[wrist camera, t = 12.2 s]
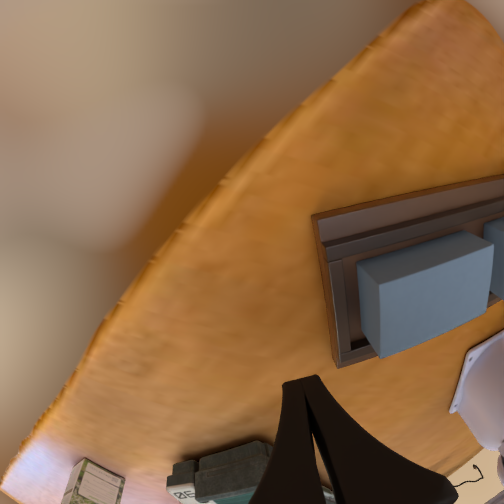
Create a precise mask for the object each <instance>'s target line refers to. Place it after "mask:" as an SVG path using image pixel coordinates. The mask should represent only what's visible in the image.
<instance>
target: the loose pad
mask: <svg viewBox="0 0 504 504" xmlns="http://www.w3.org/2000/svg"><path fill="white" fill-rule="evenodd" d="M493 254H494V244H493V243H491V242H489V241H486V240H484V239H482V238H480V237H478V236H476V235H474V234H471V233H469V232H467V231H465V230H462V231H459V232H456V233H453V234H449V235H446V236H443V237H440V238H436V239H433V240H430V241H427V242H423V243H420V244H417V245H413V246H410V247H406V248H403V249H400V250H396V251H393V252H389V253H386V254H382V255H379V256H375V257H372V258H368V259H365V260H361V261H357V262H356V267H357V277H358V288H359V300H360V315H361V330H362V332H363V333H364V335H365V336H366V338H367V339H368V341H369V342H370V344H371V345H372V347H373V349H374V350H375V352H376V353H377V355H378V356H379V358H380V359H382V358H385V357H388V356H390V355H393V354H396V353H398V352H401V351H403V350H406V349H408V348H411V347H413V346H416V345H418V344H421V343H423V342H425V341H428V340H430V339H432V338H435V337H437V336H439V335H441V334H443V333H446V332H448V331H450V330H452V329H454V328H456V327H458V326H460V325H462V324H464V323H466V322H468V321H470V320H472V319H474V318H476V317H478V316H480V315H482V314H484V313H485V312H486V308H487V302H488V296H489V290H490V282H491V274H492V265H493Z"/></svg>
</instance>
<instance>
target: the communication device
mask: <svg viewBox="0 0 504 504" xmlns="http://www.w3.org/2000/svg"><path fill="white" fill-rule="evenodd" d="M272 449H273V447H272V446H270V445H269V444H267V443H262V442H260V441H258V440H256V441H254V442H251V443H248V444H245V445H242V446H239V447H235V448H232V449H229V450H226V451H222V452H219V453H215V454H212V455H208V456H204V457H202V458H201V459H200V462H196V461H194V460H188V461H184V462H180V463H176V464H174V465H173V473H172V475H170V476H168V477H167V486H166V490H167V491H168V492H169V493H170V494H171V495H172V496H173V497H175V498H176V499H177V500H178V501H180V502H181V503H182V504H248V503H249V501H250V499H251V497H252V496H253V494H254V492H255V490H256V488H257V486H258V484H259V482H260V480H261V478H262V476H263V473H264V471H265V469H266V466H267V464H268V461H269V458H270V455H271V452H272ZM322 488H323V492H324V496H325V500H326V504H336V502H335V498H334V494H333V492H331V491H330V489H328V488H326V487H324V486H322Z"/></svg>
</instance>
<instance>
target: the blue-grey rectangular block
mask: <svg viewBox="0 0 504 504" xmlns="http://www.w3.org/2000/svg"><path fill="white" fill-rule="evenodd" d="M483 239H484V240H486V241H489V242H491V243H493V244H494V254H493V265H492V274H491V282H490V291H491V292H492V293H494V294H495V295H497V296H498V297H499V298H501V299H502V300H504V217H501V218H498V219H495V220H492V221H489V222H486V223H484V232H483Z"/></svg>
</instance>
